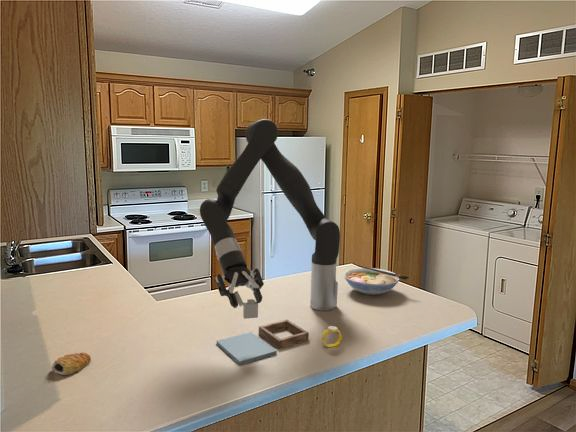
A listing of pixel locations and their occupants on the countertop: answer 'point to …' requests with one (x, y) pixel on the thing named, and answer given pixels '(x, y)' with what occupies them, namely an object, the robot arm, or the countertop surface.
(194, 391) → the countertop surface
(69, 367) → the pastry
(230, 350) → the slate board
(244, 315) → the lighter
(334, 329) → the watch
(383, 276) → the ramen bowl
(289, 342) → the frame
